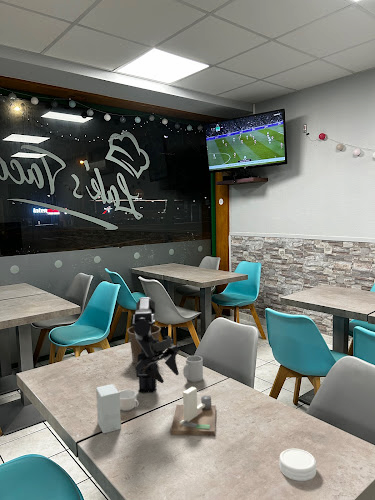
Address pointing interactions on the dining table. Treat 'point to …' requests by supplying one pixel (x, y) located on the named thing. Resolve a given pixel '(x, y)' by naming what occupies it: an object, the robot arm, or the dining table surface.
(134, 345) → the plant pot
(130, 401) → the teacup
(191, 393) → the lever
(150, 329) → the robot arm
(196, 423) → the brown flat panel
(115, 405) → the small box
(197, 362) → the cup
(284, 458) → the coaster
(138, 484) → the dining table surface
